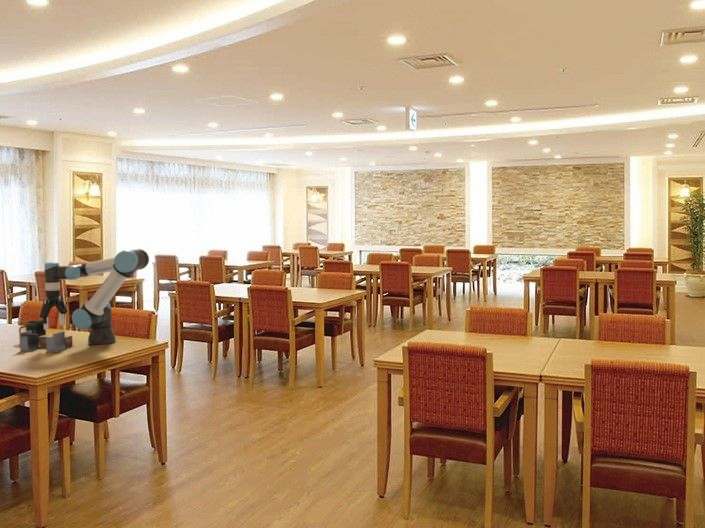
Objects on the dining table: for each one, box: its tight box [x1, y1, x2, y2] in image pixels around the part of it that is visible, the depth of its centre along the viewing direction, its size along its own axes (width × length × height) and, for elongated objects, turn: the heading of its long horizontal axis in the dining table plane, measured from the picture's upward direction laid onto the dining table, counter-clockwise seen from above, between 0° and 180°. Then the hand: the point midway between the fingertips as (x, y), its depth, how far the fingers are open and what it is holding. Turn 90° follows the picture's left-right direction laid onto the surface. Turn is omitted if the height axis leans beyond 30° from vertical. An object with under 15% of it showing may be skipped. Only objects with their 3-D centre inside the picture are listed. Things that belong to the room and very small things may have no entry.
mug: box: [18, 319, 47, 341], centre depth 405 cm, size 11×15×12 cm
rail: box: [39, 334, 73, 349], centre depth 391 cm, size 18×5×6 cm, turn 75°
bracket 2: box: [46, 330, 66, 353], centre depth 378 cm, size 5×9×10 cm, turn 166°
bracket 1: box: [18, 330, 40, 352], centre depth 382 cm, size 5×9×10 cm, turn 166°
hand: (54, 327), depth 390 cm, fingers open, 13 cm apart
